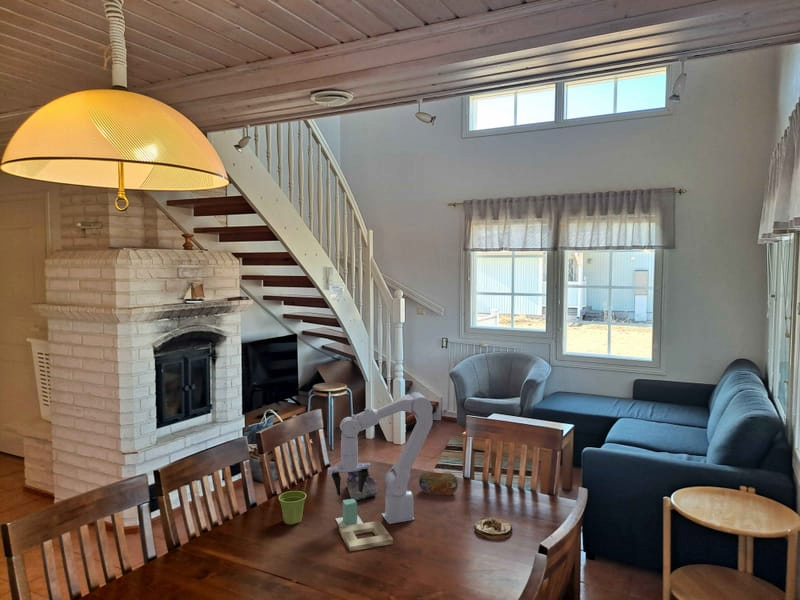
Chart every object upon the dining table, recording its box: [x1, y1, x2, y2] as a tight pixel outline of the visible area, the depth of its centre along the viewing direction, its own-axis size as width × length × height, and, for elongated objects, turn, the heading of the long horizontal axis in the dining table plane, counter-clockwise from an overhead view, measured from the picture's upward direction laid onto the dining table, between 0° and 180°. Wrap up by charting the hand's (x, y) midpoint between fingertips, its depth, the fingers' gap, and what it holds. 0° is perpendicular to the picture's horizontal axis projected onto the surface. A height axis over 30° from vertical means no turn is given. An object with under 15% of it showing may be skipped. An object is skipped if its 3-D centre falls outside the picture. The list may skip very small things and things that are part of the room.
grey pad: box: [335, 514, 364, 528], centre depth 190 cm, size 8×8×1 cm
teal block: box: [342, 498, 358, 525], centre depth 190 cm, size 4×4×7 cm
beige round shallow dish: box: [473, 517, 513, 540], centre depth 184 cm, size 15×15×4 cm
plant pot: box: [278, 490, 307, 525], centre depth 191 cm, size 9×9×9 cm
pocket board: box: [338, 520, 394, 552], centre depth 180 cm, size 14×14×1 cm
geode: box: [346, 471, 378, 502], centre depth 217 cm, size 20×12×10 cm, turn 15°
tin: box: [418, 470, 459, 496], centre depth 216 cm, size 15×3×8 cm, turn 73°
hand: (349, 492), depth 190 cm, fingers open, 7 cm apart
